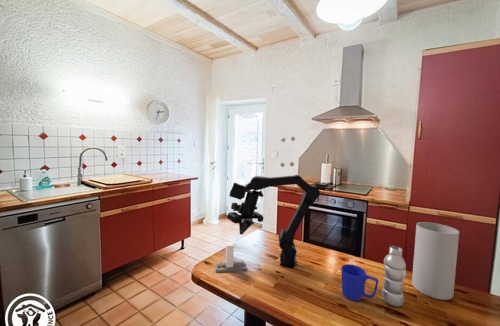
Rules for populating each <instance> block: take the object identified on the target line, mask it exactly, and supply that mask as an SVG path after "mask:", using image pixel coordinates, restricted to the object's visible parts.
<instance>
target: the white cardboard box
mask: <svg viewBox="0 0 500 326" xmlns="http://www.w3.org/2000/svg"><path fill="white" fill-rule="evenodd" d="M234 246H235V245H234V241H225V261H226V268H229V267H233V261H234V251H235V250H234Z"/></svg>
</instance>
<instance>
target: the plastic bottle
mask: <svg viewBox="0 0 500 326" xmlns="http://www.w3.org/2000/svg"><path fill="white" fill-rule="evenodd" d="M388 249H389V250H388V252H389V253H388V254H386V255H385V257H384V259H383V267H384V279H383V286H382V288H381V297H382V299H383V300H384V302H385V303H386V304H388V305H391V306H393V307H402V305H404V303H405V296H404V287H403V286H404V285H403V283H404V278H405V277H404V273H405V270H406V269H407V264H406V261H405V259H404V258H403V248H402V247H400V246H397V245H390V246H389V248H388ZM403 277H404V278H403Z"/></svg>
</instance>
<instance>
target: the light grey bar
mask: <svg viewBox="0 0 500 326" xmlns="http://www.w3.org/2000/svg"><path fill="white" fill-rule="evenodd" d="M216 263H217V267H226V260H223V261H222V260H220V261H216ZM244 263H245V261H244V260H233V266H244Z"/></svg>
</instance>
